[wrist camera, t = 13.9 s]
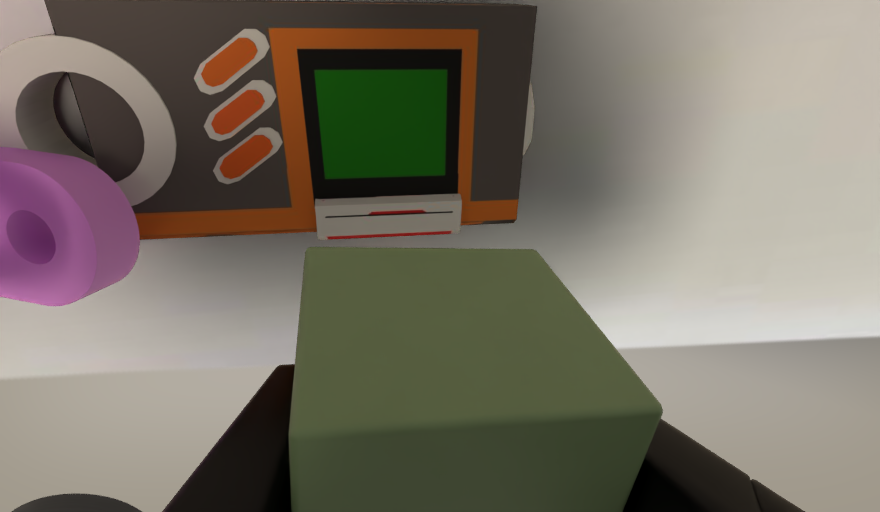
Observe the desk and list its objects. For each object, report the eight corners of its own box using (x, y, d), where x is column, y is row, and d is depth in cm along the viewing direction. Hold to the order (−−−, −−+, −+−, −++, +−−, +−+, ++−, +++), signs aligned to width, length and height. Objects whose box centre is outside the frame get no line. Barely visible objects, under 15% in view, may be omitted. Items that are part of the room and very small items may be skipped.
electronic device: (-81, -2, 11) (554, 7, 13) (1, -4, 14) (522, 3, 16) (30, 259, 15) (529, 235, 16) (80, 218, 17) (506, 201, 19)
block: (536, 247, 9) (668, 408, 5) (500, 414, 11) (582, 617, 7) (305, 244, 8) (287, 434, 5) (307, 427, 10) (296, 664, 6)
